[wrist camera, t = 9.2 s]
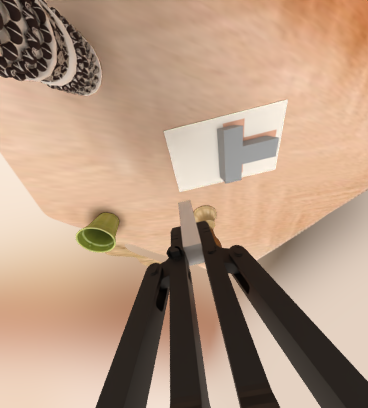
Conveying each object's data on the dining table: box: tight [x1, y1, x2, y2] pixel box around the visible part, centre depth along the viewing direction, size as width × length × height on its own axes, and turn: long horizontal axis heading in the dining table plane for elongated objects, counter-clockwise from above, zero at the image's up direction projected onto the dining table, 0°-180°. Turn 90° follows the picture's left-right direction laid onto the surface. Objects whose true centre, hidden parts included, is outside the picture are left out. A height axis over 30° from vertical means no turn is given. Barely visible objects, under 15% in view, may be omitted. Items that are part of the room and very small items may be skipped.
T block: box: [217, 125, 279, 183], centre depth 32 cm, size 12×12×4 cm
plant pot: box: [76, 213, 119, 252], centre depth 38 cm, size 9×9×9 cm
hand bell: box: [193, 206, 222, 248], centre depth 38 cm, size 8×8×16 cm
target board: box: [164, 100, 288, 192], centre depth 34 cm, size 16×28×1 cm, turn 102°
